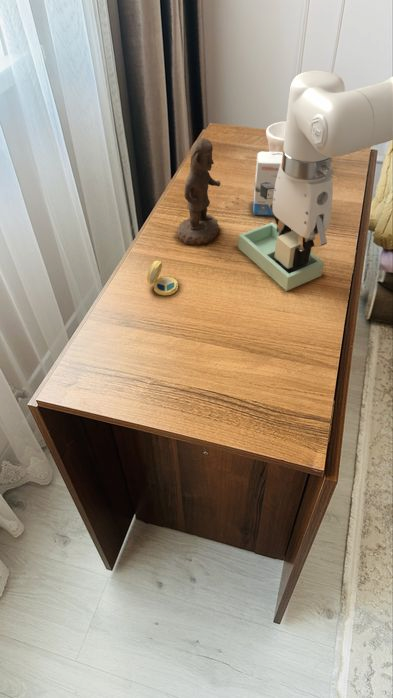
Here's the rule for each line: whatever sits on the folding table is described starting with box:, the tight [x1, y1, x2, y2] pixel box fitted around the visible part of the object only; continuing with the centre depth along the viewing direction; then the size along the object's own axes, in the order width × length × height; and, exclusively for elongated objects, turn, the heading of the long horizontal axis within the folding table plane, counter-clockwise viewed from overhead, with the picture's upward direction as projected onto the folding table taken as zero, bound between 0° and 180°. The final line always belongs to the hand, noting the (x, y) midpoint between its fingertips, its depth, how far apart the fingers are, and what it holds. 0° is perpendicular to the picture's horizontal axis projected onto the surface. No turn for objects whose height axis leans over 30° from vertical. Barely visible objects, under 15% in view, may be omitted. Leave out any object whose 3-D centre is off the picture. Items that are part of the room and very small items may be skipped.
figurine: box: [177, 137, 221, 246], centre depth 94 cm, size 9×8×20 cm
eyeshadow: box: [146, 260, 179, 296], centre depth 89 cm, size 4×5×5 cm
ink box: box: [252, 150, 283, 217], centre depth 103 cm, size 9×5×12 cm, turn 84°
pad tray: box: [237, 221, 325, 292], centre depth 94 cm, size 8×15×3 cm, turn 31°
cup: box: [265, 120, 286, 152], centre depth 116 cm, size 10×10×9 cm
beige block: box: [274, 231, 313, 269], centre depth 89 cm, size 4×5×4 cm
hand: (292, 257), depth 90 cm, fingers closed on beige block, 4 cm apart
